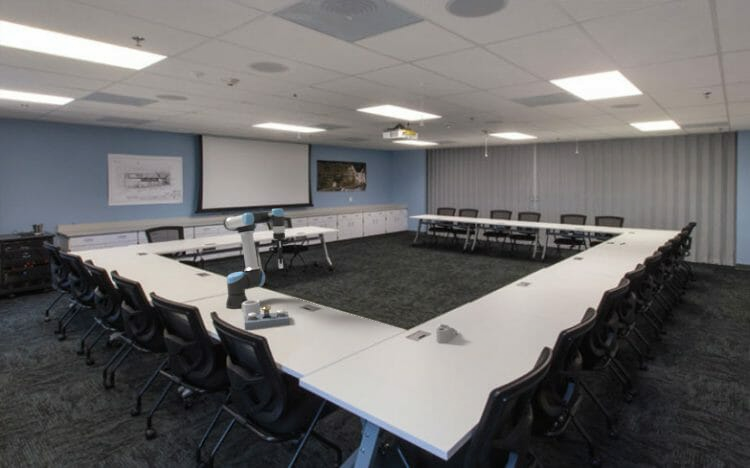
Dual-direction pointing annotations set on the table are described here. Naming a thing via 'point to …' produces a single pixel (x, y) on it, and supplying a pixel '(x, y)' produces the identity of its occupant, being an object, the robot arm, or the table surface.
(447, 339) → the grey mounting bracket
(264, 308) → the pot knob
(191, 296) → the table surface
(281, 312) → the knob
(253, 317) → the knob
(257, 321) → the panel
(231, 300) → the robot arm
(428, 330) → the table surface
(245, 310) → the mug
